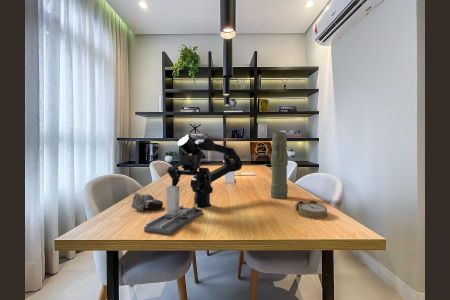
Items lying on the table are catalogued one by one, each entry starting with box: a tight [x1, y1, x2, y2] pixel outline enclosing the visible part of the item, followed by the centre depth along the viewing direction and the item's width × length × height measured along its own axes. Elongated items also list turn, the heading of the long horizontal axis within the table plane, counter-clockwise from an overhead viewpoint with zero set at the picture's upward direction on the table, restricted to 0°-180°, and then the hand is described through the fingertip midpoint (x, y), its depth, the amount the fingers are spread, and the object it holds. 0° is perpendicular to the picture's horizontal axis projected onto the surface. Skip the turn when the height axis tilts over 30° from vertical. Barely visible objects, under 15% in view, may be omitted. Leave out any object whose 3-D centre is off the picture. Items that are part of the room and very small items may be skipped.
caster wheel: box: [130, 192, 164, 212], centre depth 110 cm, size 7×11×10 cm
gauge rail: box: [143, 203, 204, 236], centre depth 92 cm, size 26×10×4 cm, turn 161°
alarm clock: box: [294, 200, 329, 220], centre depth 102 cm, size 11×5×15 cm
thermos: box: [270, 131, 289, 200], centre depth 131 cm, size 9×12×35 cm
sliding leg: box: [164, 185, 186, 218], centre depth 92 cm, size 4×7×11 cm, turn 71°
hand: (182, 189), depth 99 cm, fingers open, 9 cm apart
